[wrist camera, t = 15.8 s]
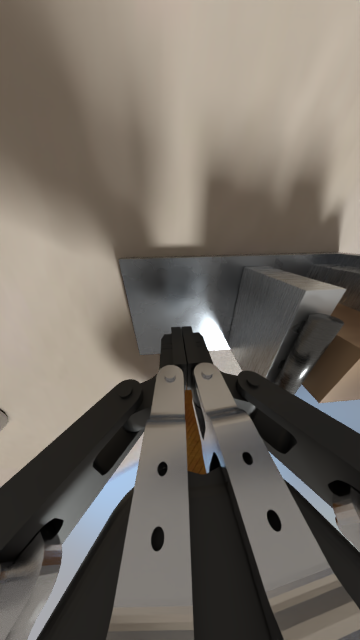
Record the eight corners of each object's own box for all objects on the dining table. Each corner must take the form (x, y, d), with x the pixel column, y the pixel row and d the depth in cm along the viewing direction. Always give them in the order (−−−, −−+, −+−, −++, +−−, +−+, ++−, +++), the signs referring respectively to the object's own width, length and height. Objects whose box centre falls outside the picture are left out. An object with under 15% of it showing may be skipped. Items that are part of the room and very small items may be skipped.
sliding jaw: (227, 344, 16) (266, 413, 10) (243, 266, 11) (333, 300, 5) (244, 343, 16) (293, 410, 10) (267, 266, 12) (380, 298, 5)
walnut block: (248, 326, 15) (319, 403, 8) (259, 290, 13) (365, 351, 6) (284, 324, 15) (382, 397, 8) (300, 288, 13) (449, 345, 6)
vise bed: (141, 350, 16) (126, 412, 11) (121, 258, 11) (72, 280, 5) (293, 340, 17) (356, 391, 12) (339, 252, 12) (492, 265, 7)
